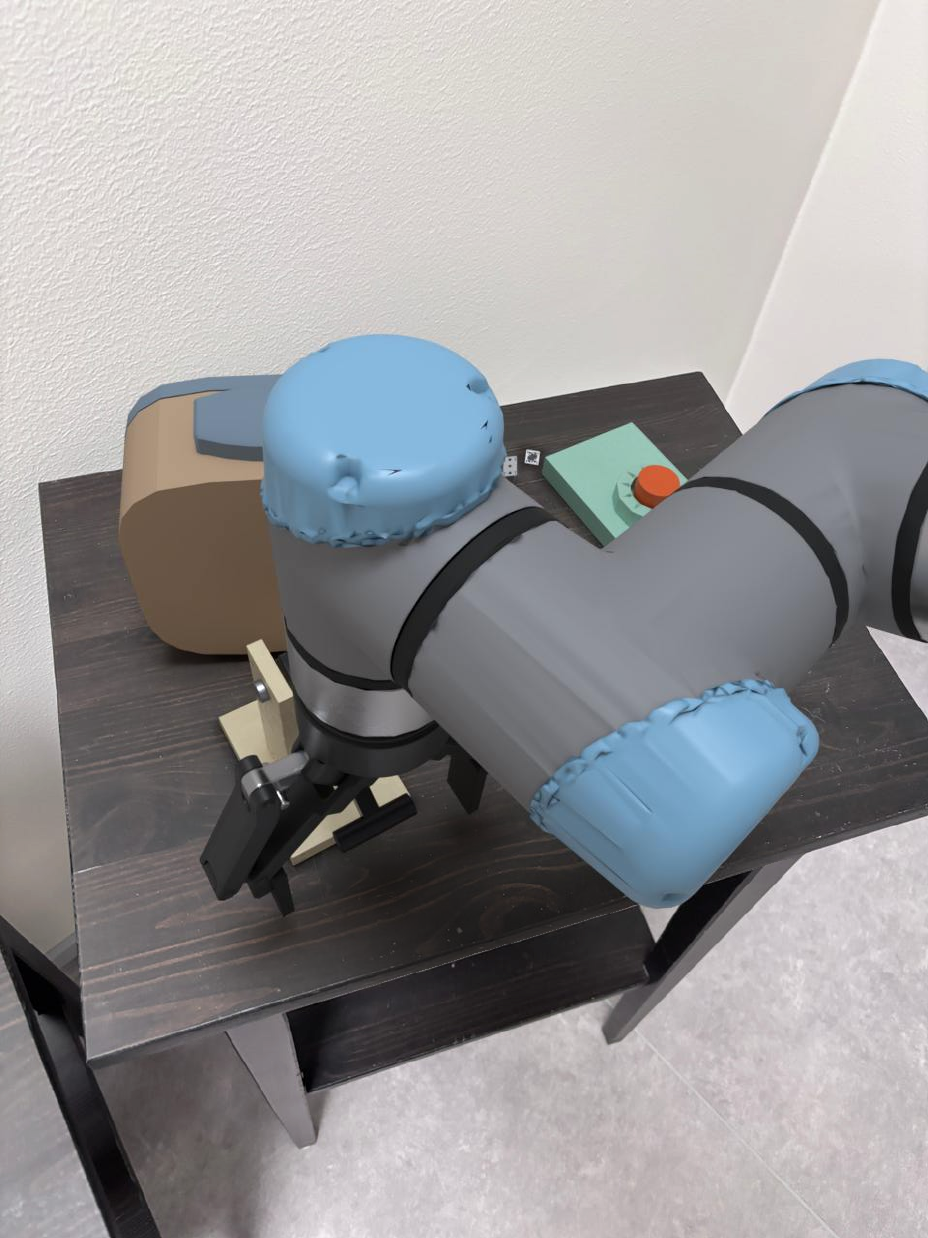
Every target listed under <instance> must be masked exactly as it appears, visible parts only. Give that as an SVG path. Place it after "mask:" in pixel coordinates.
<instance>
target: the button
mask: <svg viewBox="0 0 928 1238" xmlns="http://www.w3.org/2000/svg"><path fill="white" fill-rule="evenodd" d="M679 487H680V481H679V478H678V476H677V475H676V474H675V473H674V472H673V471H672V470H671V469H669V468H667V467H664V466H660V465H650V466H647V467H645V468H643V469H642V470H641V471H640V472H639V474H638V477H637V480H636V483H635V486H634V490H633V491H634V496H635V498H636V499H637V500H638V502H639V503H641V504H642V505H644V506H646V507H648V508H651V509H653V508H655V507H656V506H657V505H658V504H660V503H661V502H662V501H663V500H665V499H666V498H667V497H668V496H669V495H670V494H672V493H673V492H674V491H675V490H676V489H678V488H679Z"/></svg>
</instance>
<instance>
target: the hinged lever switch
mask: <svg viewBox="0 0 928 1238" xmlns="http://www.w3.org/2000/svg"><path fill="white" fill-rule="evenodd" d="M246 647H247V652H248V654H247V658H248V661H249V666H250V671H251V676H252V680H253V681H252V683H251V685H252V688H253V690H254V693H255V695H256V700H254V701H252V702H249V703H247V704H245V705H243V706H240V707H238V708H236V709H234V710H231V711H230V712H228V713H225V714H223V715H221V716H219V717H218V721H219V724H220V727H221V730H222V731H223V733H224V735H225V737H226V739H227V741H228V743H229V745H230V747H231V749H232V750H233V753H234V754H235V756H236V758H237V760H238V761H240V760H241V759H243V758H244V757H247V756H250V755H257V756H258V758H259V760H260V762H261V763H265V762H268V763H269V764H270V763H272V762H275V761H277V760H279V759H281V758H284V757H286V756H288V755H290V754H291V749H292V745H293V743H294V742H295V740H296V739H297V737H298V735H299V731H298V727H297V721H296V715H295V707H294V700H293V693H292V691H291V689H290V687H289V685H288V684H287V682H286V680H285V678H284V677H283V675H282V673H281V672H280V670H279V668H278V666H277V665H276V663H275V661H276V660H274V658H273V656H272V654H271V652H269V651H268V649H267V647H266V646H265V644H264V642H263V640H262V639H261V640H258V641H256V642H254V643H251V644H249V645H247V646H246ZM333 787H334V789H336V788H337V787H338V786H333ZM370 788H371V791H372V793H373V795H374V797H375V799H376V801H377V803H378V805H379V807H380V806H382V805H384V804H386V803H387V802H389V801H391V800H393V799H395V798H397V797H399V796H401V795H403V794H404V793H407V794H408V795H409V796H410V797H411V794H410V793H409V791H408V789H407V788H406V786H405V784H404V783H403V781H402V779H401V778H400V775H396V776H391V777H384V778H379V779H378V780H377V781H376V782H375V783H374V784H373V785H372V786H370ZM359 817H360V814H359V812H358V810H357V808H356V806H355V804H354V802H353V801H352V802H351V803H350V804H349V805H348V806H347V807H346V808H345V809H344V811H343V812H341V813H338V814H332V815H327V816H326V817H325V819H324V820H323V821H322V822H321V823H320V824H319V825H318V826H317V828H316V829H315V830H314V831H313V832H312V833H311V834H310V835H309V837H308V838H307V839H306V840H305V841H304V842H303V843H302V844H301V846H300V847H299V848H298V849H297V850H296V851H295V852H294V853H293V855H292V856H291V857H290V858H289V860H290V862H291V864H292V866H293V867H294V866H296V865H298V864H300V863H302V862H303V861H305V860H307V859H309V858H312V857H313V856H315V855H316V854H318V853H320V852H322V851H324V850H326V849H328V848H330V847H331V846H334V845H335V844H336V842H335V840H334V838H333V834H332V832H333V831H335V830H336V829H338V828H340V827H342V826H344V825H346V824H348V823H350V822H352V821H353V820H355V819H357V818H359Z"/></svg>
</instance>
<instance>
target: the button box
mask: <svg viewBox="0 0 928 1238" xmlns="http://www.w3.org/2000/svg"><path fill="white" fill-rule="evenodd" d="M650 465H660V466H664V467H667V468H669V469H671V470H672V471H673V472H674V473H675V474H676V475H677V476H678V478H679V481H680V487H681V486H682V485H683V484H684V483H685V482H687V481H688V480H689V479H688V478H686V477H685V476H684V474H683V473H681V471H679V469H678V468H677V467H676V466H675V465H674V464H673V463H672V462H671V461H670V460H669V459H668V458H667V457H666V456H665V455H664V453H662V451H661V450H660V449H659V448H658V447H657V446H656V445H655V444H654V443H653V442H652V441H651V440H650V439H649V437H647V436H646V435H645V434H644V433H643V432H642V431H641V430H640V429H639V428H638V426H637V425H636V424H635V423H634V422H632V421H631V422H629V423H626V424H623V425H621V426H619V427H617V428H613V429H611V430H609V431H607V432H604V433H601V434H599V435H597V436H594V437H592V438H589V439H587V440H584V441H582V442H579V443H577V444H575V445H572V446H570V447H567V448H564V449H562V450H559V451H557V452H554V453H552V454H550V455H549V454H548V455H547V456H545V457H544V462H543V465H542V469H541V476H542V477H544V478H545V479H546V481H547V483H549V484H550V486H551V488H553V489H554V490H555V491H556V493H557V494H558V495H559V496H560V497H561V498H562V499H563V501H564V502H565V503H566V504H567V506H568V507H569V508H570V509H571V511H573V513H574V514H575V515H576V516H577V517H578V518H579V520H580V521H581V522H582V524H584V525H585V526H586V528H587V529H588V530H589V531H590V532H591V534H592V535H593V536H594V537H595V538H596V539H597V541H598V542H599V543H600V544H601V545H602V546H603V548H604V547H605V546H607V545H608V544H609V543H610V542H612V541H613V540H614V539H615V538H617V537H618V536H619V535H620V534H622V533H623V532H624V531H626V530H627V529H628V528H629V527H631V526H632V525H633V524H634V523H636V522H637V521H638V520H639V519H641V518H642V517H643V516H644V515H646V514H647V513H648V512H650V511H651V510H652V509H651V508H648V507H646V506H644V505H642V504H641V503H639V502H638V500H637V499H636V498H635V496H634V491H633V490H634V486H635V483H636V480H637V477H638V474H639V472H640V471H641V470H642V469H643V468H645V467H647V466H650Z"/></svg>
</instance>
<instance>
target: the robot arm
mask: <svg viewBox="0 0 928 1238" xmlns="http://www.w3.org/2000/svg"><path fill="white" fill-rule="evenodd" d="M281 374H282V375H281V377H280V378H279V380H278V381H277V382H276V384H275V385H274V387H273V389H272V390H271V392H270V394H269V396H268V398H267V401H266V404H265V408H264V413H263V418H262V429H261V432H262V447H263V463H264V477H263V479H262V482H261V493H260V496H261V500H262V504H263V509H264V511H265V512H266V517H267V523H268V529H269V535H270V541H271V548H272V554H273V560H274V566H275V572H276V578H277V585H278V591H279V597H280V603H281V609H282V611H283V622H284V629H285V636H286V643H287V651H288V658H289V665H290V672H291V685H292V693H293V700H294V707H295V715H296V721H297V727H298V731H299V735H298V737H297V739H296V740H295V742H294V743H293V745H292V749H291V754H290V755H288V756H286V757H284V758H281V759H279V760H277V761H275V762H272V763H270V764H269V763H268V762H265V763H261V762H260V760H259V758H258V756H257V755H250V756H247V757H244V758H243V759H241V760H240V761H239V760H238V761H237V762H236V763H235V764H234V767H233V770H234V779H235V780H234V781H235V784H234V787H233V790H232V792H231V793H230V796H229V797H228V800H227V802H226V804H225V806H224V807H223V809H222V812H221V814H220V816H219V818H218V820H217V822H216V824H215V826H214V828H213V829H212V833H211V834H210V836H209V838H208V840H207V842H206V843H205V846H204V849H203V850H202V853H201V855H200V856H199V863H200V865H201V867H202V869H203V871H204V873H205V876H206V878H207V880H208V882H209V885H210V887H211V889H212V890H213V893H214V894H215V897H216V900H217V901H219V902H225V901H227V900H230V899H232V898H233V897H235V895H237V894H238V893H239V891H240V890H241V889H242V887H243V885H244V884H247V886H248V888H249V891H250V892H251V894H252V897H253V898H254V899H257V900H259V899H261V898H263V897H265V896H266V895H269V894H271V896H272V898H273V900H274V901H275V904H276V906H277V907H278V909H279V912H280V914H281V916H282V917H283V918H285V917H287V916H289V915H291V914H292V913H295V912H296V910H295V904H294V901H293V896H292V895H293V894H292V891H291V887H290V881H289V877H288V874H287V872H286V870H285V868H284V865H285V864H286V863H287V862H288V860H290V857H291V856H292V855H293V853H294V852H295V851H296V850H297V849H298V848H299V847H300V846H301V844H302V843H303V842H304V841H305V840H306V839H307V838H308V837H309V835H310V834H311V833H312V832H313V831H314V830H315V829H316V828H317V826H318V825H319V824H320V823H321V822H322V821H323V820H324V819H325V817H326V816H327V815H332V814H338V813H341V812H343V811H344V809H345V808H346V807H347V806H348V805H349V804H350V803H351V802H352V801H353V799H354V798H355V797H356V796H357V795H358V794H359V793H360V792H361V791H362V789H363V788H364V787H369V786H372V785H373V784H374V783H375V782H376V781H377V780H378V779H379V778H384V777H391V776H396V775H398V776H400V775H404V774H406V773H408V772H409V773H410V772H412V771H413V770H416V769H418V768H419V767H421V766H423V765H424V764H426V763H427V762H429V761H436V762H437V761H439V762H440V761H442V760H443V759H444V758H445V757H446V756H450V760H449V765H448V772H447V776H446V777H447V778H446V782H447V784H448V785H449V787H450V789H451V790H452V792H453V793H454V795H455V796H456V798H457V799H458V801H459V803H460V804H461V806H462V807H463V810H464V811H465V812H466V814H467V815H468V816H469V815H471V814H474V813H475V812H477V811H478V810H479V808H480V804H481V801H482V796H483V791H484V789H485V784H486V780H487V777H488V775H490V776H491V777H492V778H493V779H494V780H495V781H496V782H497V783H498V784H499V785H500V786H501V787H502V788H503V789H504V790H505V791H506V792H507V793H508V794H509V795H510V796H511V797H512V798H513V799H514V800H515V801H517V803H518V804H519V805H521V807H522V808H523V809H525V810H526V811H527V812H528V814H529V818H530V819H531V820H532V822H534V823H535V825H536V826H537V827H539V828H540V829H541V831H543V832H544V833H547V834H550V835H553V836H554V837H556V839H558V840H559V841H560V842H562V843H563V844H564V845H565V846H566V847H567V848H569V849H570V850H571V851H572V852H574V853H575V854H576V855H577V856H578V857H579V858H581V859H582V860H583V861H584V862H585V863H587V864H588V865H589V866H591V868H593V869H594V870H595V871H596V872H598V873H599V874H600V875H601V876H602V877H604V879H606V880H607V881H608V882H610V883H611V884H612V886H614V887H615V888H616V889H618V890H619V891H620V892H622V894H624V895H625V896H626V897H627V898H628V899H630V900H631V901H632V902H634V903H636V904H638V905H640V906H642V907H645V908H650V909H653V910H661V909H671V908H675V907H678V906H681V905H682V904H684V903H686V902H687V901H688V900H690V899H691V898H692V897H693V896H694V895H695V894H696V893H697V892H698V891H699V890H700V889H702V887H703V885H704V884H706V882H707V881H708V880H709V879H710V878H711V877H712V876H713V875H714V874H715V873H716V871H717V870H718V869H720V867H721V866H722V865H723V864H724V862H725V861H727V860H728V858H729V857H730V856H731V855H732V854H733V853H734V852H735V851H736V849H737V848H739V846H740V845H741V844H742V842H743V841H745V839H746V838H747V837H748V836H749V835H750V834H751V833H752V832H753V830H754V829H755V828H756V827H757V826H758V824H760V822H761V821H762V820H763V819H764V818H765V817H766V816H767V814H768V813H769V812H770V811H771V810H772V808H774V806H775V805H776V804H777V802H778V801H779V800H780V799H781V798H782V797H783V795H785V794H786V793H787V791H788V790H789V789H790V788H791V787H792V785H794V783H795V782H796V781H797V780H798V778H799V777H800V776H801V774H802V773H803V771H804V770H806V768H807V767H808V766H809V765H810V764H811V763H812V762H813V761H814V759H815V757H816V756H817V754H818V752H819V748H820V736H819V732H818V731H817V728H816V726H815V724H814V723H813V722H812V721H811V719H810V718H809V717H807V716H806V715H805V714H804V713H803V712H802V711H801V710H799V709H798V708H797V707H796V706H795V705H794V704H793V703H792V701H791V700H792V699H791V697H790V695H791V694H792V692H793V691H794V690H795V689H796V688H797V686H799V684H800V683H801V682H802V680H803V679H804V678H805V677H806V676H807V675H808V673H809V672H810V671H811V670H812V669H813V667H814V666H816V665H817V663H818V662H819V660H820V659H821V658H822V657H823V656H824V655H825V654H826V652H827V651H828V650H829V649H830V648H831V647H832V646H833V645H834V644H835V643H836V641H838V639H840V638H841V637H842V635H844V633H846V632H847V631H848V630H849V629H850V628H851V627H852V626H854V625H862V626H864V627H868V628H870V629H875V630H878V631H881V632H884V633H888V634H891V635H895V636H897V637H902V638H905V639H908V640H912V641H915V642H920V643H923V644H928V371H926V370H924V369H922V367H921V366H919V365H918V364H915V363H912V362H908V361H905V360H899V359H894V358H869V359H862V360H856V361H853V362H850V363H847V364H844V365H840V366H839V367H837V368H834V369H833V370H831V371H829V372H827V373H825V374H824V375H823V376H821V377H820V378H817V380H816V379H815V381H813V382H811V383H810V384H809V385H807V386H806V387H804V388H803V389H802V390H796V391H794V392H793V391H792V393H790V394H788V395H787V396H785V397H784V398H783V399H781V400H779V402H777V403H776V404H775V405H774V406H773V407H771V408H770V409H769V410H768V411H767V412H766V413H764V415H762V417H761V418H760V419H759V420H758V421H757V422H756V423H755V424H754V425H753V426H752V427H751V428H749V429H748V430H747V431H746V432H744V433H743V434H742V435H740V436H739V437H738V438H737V439H736V440H735V441H733V442H732V443H731V444H730V445H728V446H727V447H726V448H725V449H724V450H723V451H721V452H720V453H719V454H718V455H717V456H716V457H714V458H713V459H712V460H711V461H709V462H708V463H707V464H706V465H705V466H704V467H702V468H701V469H699V470H698V472H696V473H695V474H694V475H692V476H691V477H690V478H689V479H687V480H688V481H687V482H685V483H684V484H683V485H682V486H681V487H679V488H678V489H676V490H675V491H674V492H673V493H672V494H670V495H669V496H668V497H667V498H666V499H665V500H663V501H662V502H661V503H660V504H658V505H657V506H656V507H655V508H653V509H652V510H651V511H650V512H648V513H647V514H646V515H644V516H643V517H642V518H641V519H639V520H638V521H637V522H636V523H634V524H633V525H632V526H631V527H629V528H628V529H627V530H626V531H624V532H623V533H622V534H620V535H619V536H618V537H617V538H615V539H614V540H613V541H612V542H610V543H609V544H608V545H607V546H605V547H604V546H603V547H602V548H599V547H597V546H595V545H594V544H593V543H591V542H589V541H588V540H586V539H584V538H583V537H582V536H580V535H578V534H577V533H575V532H574V531H573V530H572V529H571V530H570V529H569V526H568V525H566V524H565V523H564V522H563V521H561V520H560V519H558V518H557V517H556V516H555V515H553V514H552V512H550V511H548V510H547V509H546V508H545V507H543V506H542V505H541V504H540V503H539V502H538V501H536V500H535V499H533V497H531V496H530V495H528V494H527V493H526V492H525V491H523V490H521V489H520V488H519V487H517V486H516V485H515V483H514V484H512V483H511V482H510V481H508V480H507V479H506V478H505V477H504V476H503V475H502V470H503V466H504V462H505V458H506V457H508V454H507V447H506V446H505V444H504V435H505V434H504V432H505V420H504V413H503V411H502V408H501V407H500V403H499V401H498V399H497V397H496V395H495V393H494V391H493V389H492V387H491V386H490V385H489V382H488V379H487V378H486V377H485V375H484V374H483V373H482V372H481V371H480V370H479V368H477V367H476V366H475V365H474V364H472V363H471V362H470V361H469V360H467V358H465V357H464V356H461V355H460V354H459V353H457V352H456V351H454V350H451V349H450V348H448V347H446V346H444V345H441V344H439V343H436V342H434V341H431V340H427V339H424V338H420V337H416V336H415V337H414V336H410V335H404V334H403V335H402V334H395V333H394V334H389V333H373V334H372V333H371V334H370V333H368V334H361V335H354V336H349V337H345V338H342V339H339V340H335V341H332V342H329V343H328V344H326V345H325V346H323V347H321V348H320V349H319V350H316V351H315V352H311V353H308V354H307V355H306V356H303V357H300V358H299V359H298V360H297V361H296V362H294V363H293V364H292V365H290V366H289V367H288V368H287V369H286V370H285V371H283V373H281ZM287 651H286V652H287ZM333 786H338V787H337V788H336V789H334V787H333Z"/></svg>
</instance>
